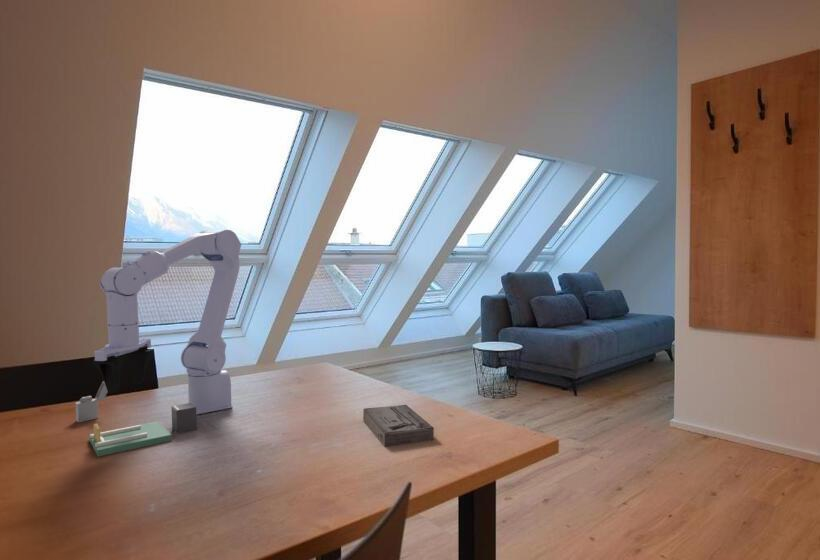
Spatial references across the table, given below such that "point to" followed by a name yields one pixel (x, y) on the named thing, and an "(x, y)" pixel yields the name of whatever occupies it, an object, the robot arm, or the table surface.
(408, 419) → the box
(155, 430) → the header board
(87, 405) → the lighter
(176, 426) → the plug
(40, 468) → the table surface
